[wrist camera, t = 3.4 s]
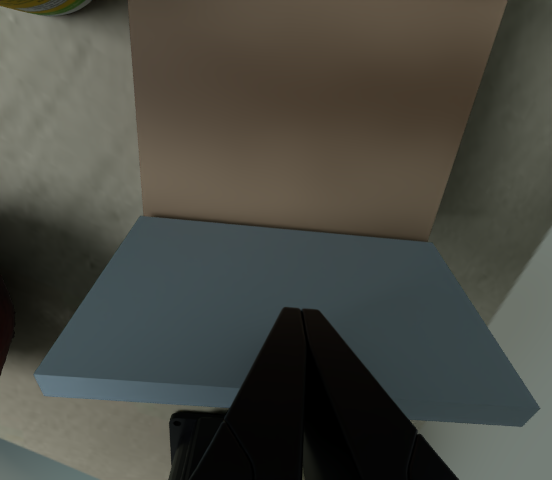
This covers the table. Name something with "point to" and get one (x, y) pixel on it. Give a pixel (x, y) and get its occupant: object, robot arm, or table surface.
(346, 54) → the brown platform with wall
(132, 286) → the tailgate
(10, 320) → the fruit
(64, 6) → the supplement bottle
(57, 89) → the table surface
